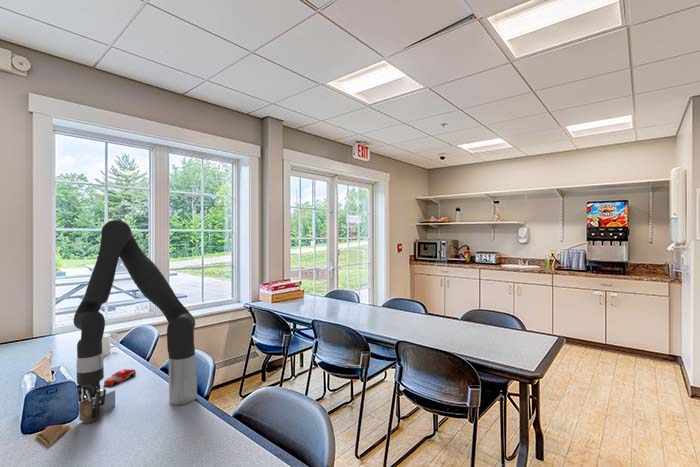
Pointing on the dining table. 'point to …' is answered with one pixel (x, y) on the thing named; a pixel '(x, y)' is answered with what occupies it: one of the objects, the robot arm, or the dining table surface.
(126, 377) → the race car
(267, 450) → the dining table surface
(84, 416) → the walnut block
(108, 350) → the cup
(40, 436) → the shard
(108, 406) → the slate block
